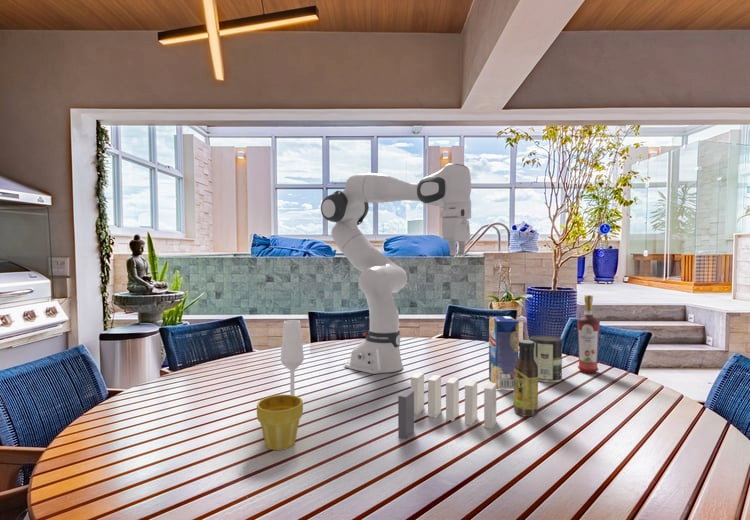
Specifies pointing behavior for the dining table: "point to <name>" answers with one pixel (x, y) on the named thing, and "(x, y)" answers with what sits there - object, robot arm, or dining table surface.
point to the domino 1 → (405, 414)
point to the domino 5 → (470, 402)
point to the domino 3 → (434, 396)
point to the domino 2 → (418, 391)
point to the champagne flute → (292, 349)
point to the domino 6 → (490, 405)
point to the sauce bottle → (526, 380)
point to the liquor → (588, 338)
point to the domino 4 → (452, 398)
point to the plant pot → (279, 420)
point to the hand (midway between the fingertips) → (457, 255)
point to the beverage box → (503, 350)
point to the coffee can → (548, 357)
